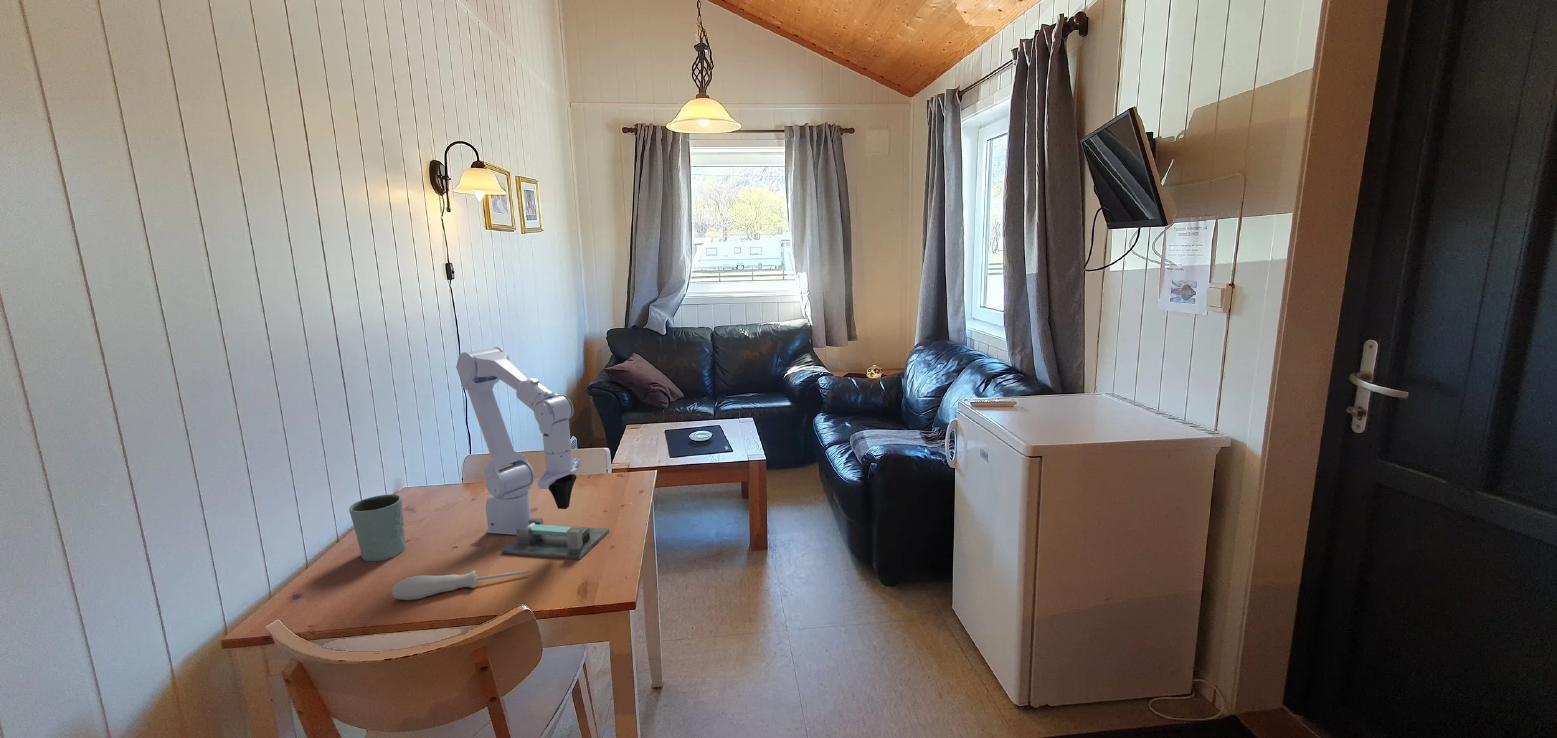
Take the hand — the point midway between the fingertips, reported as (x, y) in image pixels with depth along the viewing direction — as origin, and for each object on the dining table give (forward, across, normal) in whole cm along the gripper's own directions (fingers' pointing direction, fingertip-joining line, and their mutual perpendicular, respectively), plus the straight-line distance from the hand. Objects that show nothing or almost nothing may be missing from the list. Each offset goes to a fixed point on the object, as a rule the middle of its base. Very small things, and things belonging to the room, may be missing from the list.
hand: (563, 507), depth 145 cm
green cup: (+9, -10, +40) cm, 42 cm away
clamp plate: (+9, 0, +2) cm, 9 cm away
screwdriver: (+9, -21, +10) cm, 25 cm away
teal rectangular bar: (+6, 0, +2) cm, 7 cm away
